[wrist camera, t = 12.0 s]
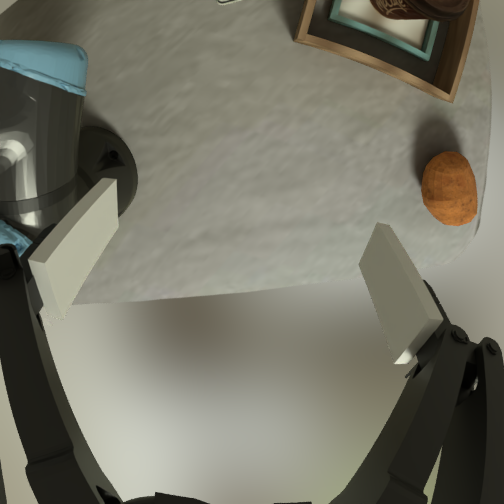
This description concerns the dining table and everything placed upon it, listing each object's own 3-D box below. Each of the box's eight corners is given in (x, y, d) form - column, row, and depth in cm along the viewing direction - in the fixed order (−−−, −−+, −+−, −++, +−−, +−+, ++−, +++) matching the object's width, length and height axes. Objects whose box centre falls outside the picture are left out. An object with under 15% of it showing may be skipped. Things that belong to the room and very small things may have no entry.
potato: (415, 217, 43) (435, 244, 36) (408, 150, 37) (432, 169, 31) (462, 204, 40) (486, 228, 34) (459, 138, 35) (488, 156, 28)
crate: (293, 41, 30) (297, 38, 26) (325, -70, 19) (332, -84, 15) (433, 96, 32) (452, 103, 28) (460, -6, 21) (480, -9, 17)
